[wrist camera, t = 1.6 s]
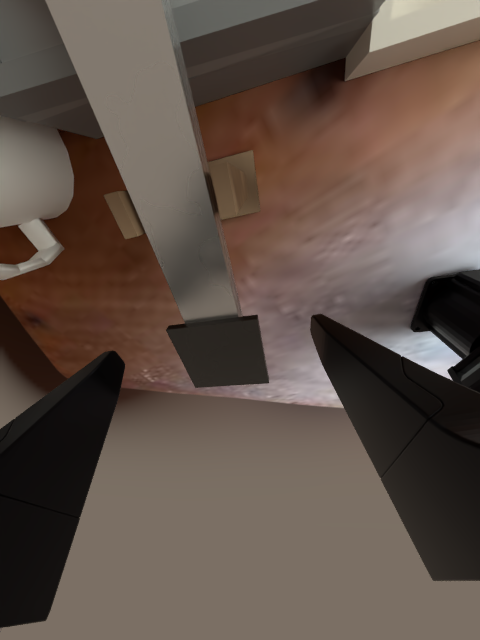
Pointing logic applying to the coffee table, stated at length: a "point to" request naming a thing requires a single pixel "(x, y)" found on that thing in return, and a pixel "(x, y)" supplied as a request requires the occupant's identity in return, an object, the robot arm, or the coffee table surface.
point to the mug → (33, 187)
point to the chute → (197, 47)
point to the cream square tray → (412, 33)
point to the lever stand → (229, 187)
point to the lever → (165, 174)
